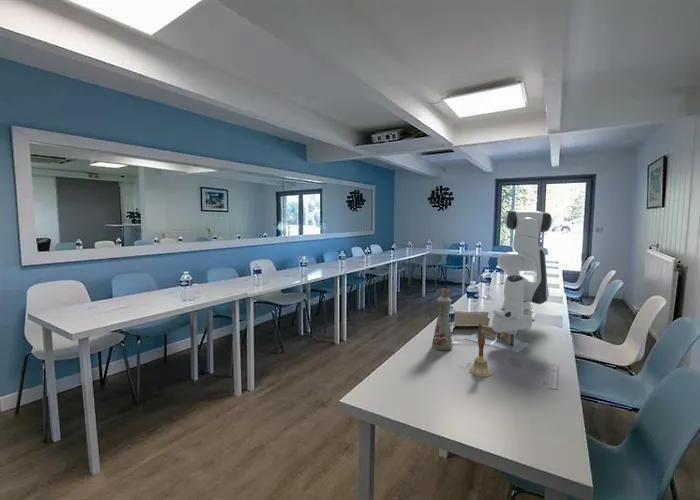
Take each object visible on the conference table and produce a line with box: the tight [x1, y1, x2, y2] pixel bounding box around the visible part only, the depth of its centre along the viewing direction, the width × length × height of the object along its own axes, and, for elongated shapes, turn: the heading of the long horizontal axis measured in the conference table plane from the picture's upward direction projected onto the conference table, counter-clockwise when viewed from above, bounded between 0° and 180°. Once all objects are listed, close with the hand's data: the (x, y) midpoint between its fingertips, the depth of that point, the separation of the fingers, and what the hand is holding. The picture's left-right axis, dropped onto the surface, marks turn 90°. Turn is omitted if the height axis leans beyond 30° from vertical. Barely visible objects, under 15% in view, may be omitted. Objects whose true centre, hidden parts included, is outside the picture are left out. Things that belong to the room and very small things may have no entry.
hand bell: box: [468, 332, 492, 378], centre depth 140 cm, size 8×8×16 cm
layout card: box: [465, 331, 530, 354], centre depth 174 cm, size 15×25×1 cm, turn 48°
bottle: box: [431, 288, 453, 352], centre depth 164 cm, size 9×9×28 cm
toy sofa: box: [454, 310, 491, 328], centre depth 195 cm, size 21×9×10 cm, turn 91°
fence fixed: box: [477, 323, 500, 339], centre depth 181 cm, size 2×11×6 cm, turn 49°
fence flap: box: [500, 331, 515, 346], centre depth 172 cm, size 9×2×5 cm, turn 12°
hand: (511, 338), depth 171 cm, fingers closed
